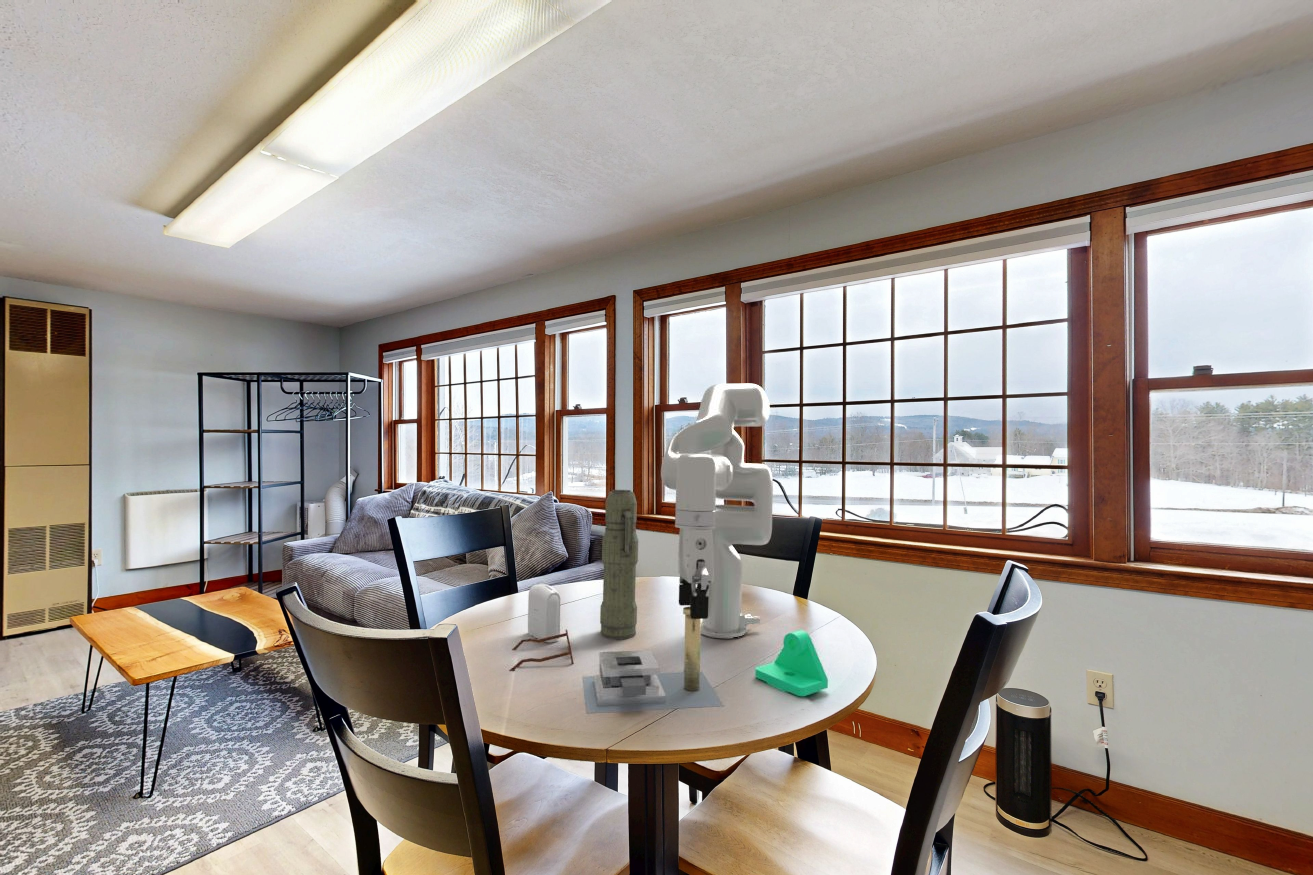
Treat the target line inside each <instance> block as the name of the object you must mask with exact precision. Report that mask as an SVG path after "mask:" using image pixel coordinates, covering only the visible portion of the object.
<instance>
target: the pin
mask: <svg viewBox="0 0 1313 875" xmlns="http://www.w3.org/2000/svg"><path fill="white" fill-rule="evenodd" d="M682 614H683V615H684V656H683V657H684V658H683V659H684V660H683V662H684V663H683V672H684V690H686V691H690V692H695V691H698V690H699V689H700V672H701V649H702V648H701V646H702V645H701V643H702V641H701V640H702V634H701V622H702V619H692V618H691V617H690V606H685V607H683V609H682Z"/></svg>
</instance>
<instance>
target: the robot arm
mask: <svg viewBox="0 0 1313 875" xmlns="http://www.w3.org/2000/svg"><path fill="white" fill-rule="evenodd" d="M769 416H770V402H769V399H768V396H767V394H766V392H765V390H764V389H763V388H762V387H761V386H759V385H758V384H755V383H718V384H713V385H710V386H709V387H707V389H706V390H705V391H704V394H703V396H702V398H701V400H700V406H699V410H698V413H697V416H696V420H695V421H694V422H692V423H690V424H688V425H687V426H685V427H683V428H682V429H681V430H679V431H678V432H677V433H676V434H675V435H673V436H672V437H671V438H670V440H669V442H668V444H667V446H666V449H665V452H664V455H663V458H662V463H661V468H660V478H661V481H662V483H663V485H664V486H665V487H666V488H668V489H670V490H673V491H675V513H674V514H675V515H674V516H675V517H674V519H675V520H674V527H675V528H679V533H678V536H679V538H678V549H677V550H678V552H677V554H678V555H677V557H678V558H677V566H678V568H677V569H678V571H677V572H678V574H679V579H678V580H679V582H678V583H679V585H678V605H679V606H689V607H690V617H691V618H692V619H701V635H702V636H706V637H709V638H713V639H714V638H716V639H734V638H733V637H737V636H741V635H743V634H745V633H746V632H747V633H748V625H760V623H761V618H760V616H759V615H755V616H752V615H751V614H744V613H743V612H742V589H743V586H742V582H743V580H742V579H743V576H742V575H743V562H742V559H741V555H740V554H739V553H738V551H737V550H736V549H735V547H734V546H733V545H750V546H751V545H752V546H763V545H766V544H768V543H769V542H770V540H771V537H772V534H773V533H772V530H773V497H774V494H773V492H774V488H773V484H774V483H773V482H774V481H773V474H772V471H771V469H770V468H769V467H768V465H766V464H763V463H754V462H753V463H750V462H749V463H748V462H747V463H746V462H745V461H744V460H745V459H744V457H745V455H744V454H745V444H744V442H743V440H742V438H741V437H740V435H739V434H738V433H737V432H736V431H735V430H734V428H735V427H763V426H765V424H766V423H767V422H768V420H769ZM708 451H710V454H709V453H704V452H708ZM716 499H718V500H724V501H725V500H726V501H744V502H746V501H747V502H752V503H753V506H752V505H737V504H734V505H733V504H716ZM747 633H746V634H747ZM746 634H745V635H746Z"/></svg>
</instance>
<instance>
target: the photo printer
mask: <svg viewBox="0 0 1313 875" xmlns="http://www.w3.org/2000/svg"><path fill="white" fill-rule="evenodd" d="M527 596H528V600H527V602H528V603H527V606H528V609H527V633H528V634H529V635H531V636H532V637H534V638H535V639H536V638H537V639H538V640H539V639H543V638H547V637H551V636H555V635H559V634H561V628H560V627H561V596H560V594H559V592H558V591H557V590H556V589H555V588H554V587H552V586H550V585H548V584H547V583H546V584H545V583H539V584H534V585H532V586H531V587H530V589H529V591H528V595H527ZM559 639H560V638H556V639H552V640H548V641H544V642H546V643H548V644H549V643H555V642H558V641H559Z"/></svg>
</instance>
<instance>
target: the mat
mask: <svg viewBox="0 0 1313 875" xmlns="http://www.w3.org/2000/svg"><path fill="white" fill-rule="evenodd" d="M657 677H658V679H659V682H660V684H661V686H662V688H663V690H664V693H665V695H666V703H649V704H629V705H610V706H598V705H597V699H596V693H595V687H594V675H591V676H589V675H588V676H582V685H583V686H582V687H583V693H584V701H585V710H586V714H601V713H619V712H620V713H621V712H622V713H623V712H624V713H625V712H637V711H639V712H641V711H642V712H643V711H658V710H661V711H662V710H675V709H677V710H678V709H695V708H713V707H715V708H716V707H717V708H718V707H725V704H724V703H723V701H722V700H721V698H720V696H719V695H718V694H717V692H716V691H715V689H714V688H713V686H712V685H711V683H710V682H709V680H708V679H707V677H706V676H705V674H704V672H703V671H701V670H700V689H699V690H698V691H695V692H690V691H686V690H684V671H683V672H681V671H680V672H659V675H657Z"/></svg>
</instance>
